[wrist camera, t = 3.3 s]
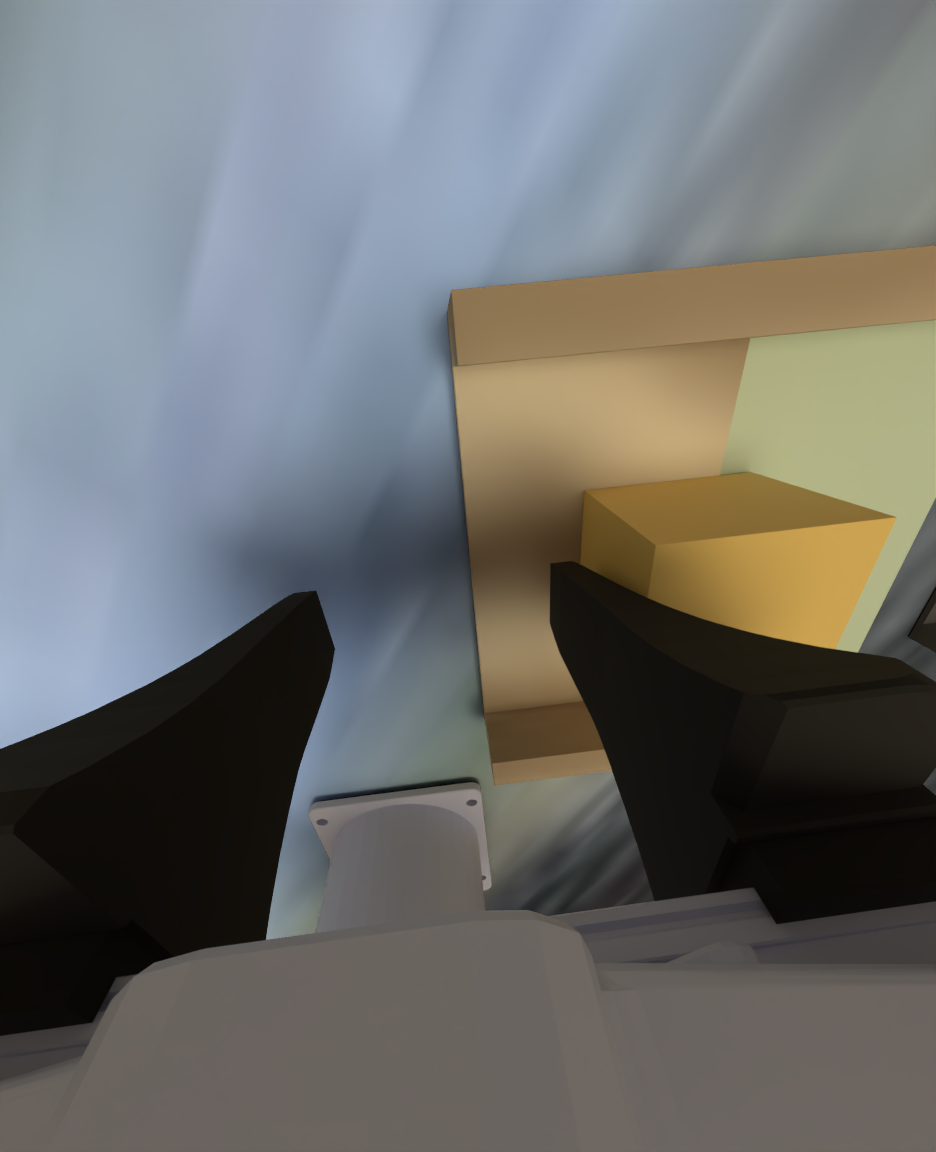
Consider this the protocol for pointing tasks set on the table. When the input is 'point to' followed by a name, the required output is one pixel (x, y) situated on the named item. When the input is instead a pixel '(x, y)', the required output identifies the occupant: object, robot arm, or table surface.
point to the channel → (612, 437)
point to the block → (738, 551)
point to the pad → (846, 431)
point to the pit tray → (926, 626)
